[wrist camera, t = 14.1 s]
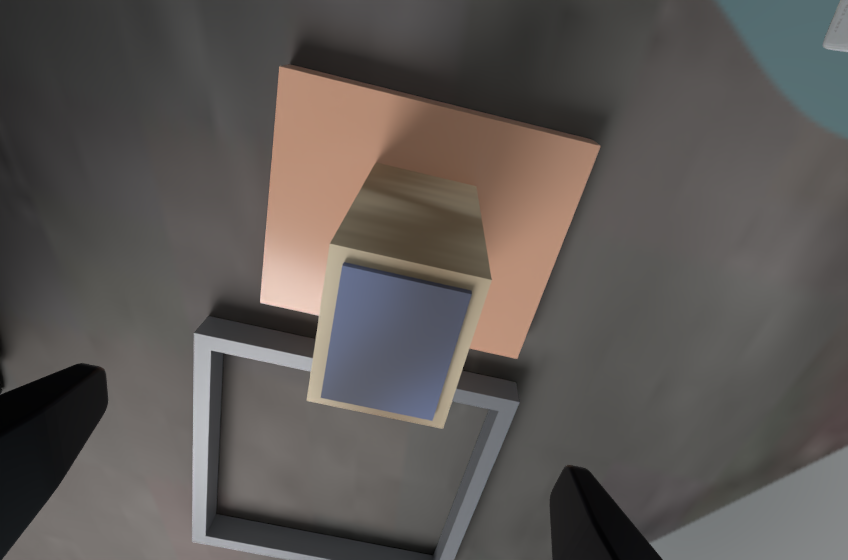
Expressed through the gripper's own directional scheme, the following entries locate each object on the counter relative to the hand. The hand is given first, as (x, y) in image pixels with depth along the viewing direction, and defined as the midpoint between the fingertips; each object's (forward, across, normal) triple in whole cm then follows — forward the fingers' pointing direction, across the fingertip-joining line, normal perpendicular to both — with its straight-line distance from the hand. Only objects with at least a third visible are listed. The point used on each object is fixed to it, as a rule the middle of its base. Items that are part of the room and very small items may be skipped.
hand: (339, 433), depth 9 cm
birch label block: (+12, -1, 0) cm, 12 cm away
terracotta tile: (+13, -1, 0) cm, 13 cm away
